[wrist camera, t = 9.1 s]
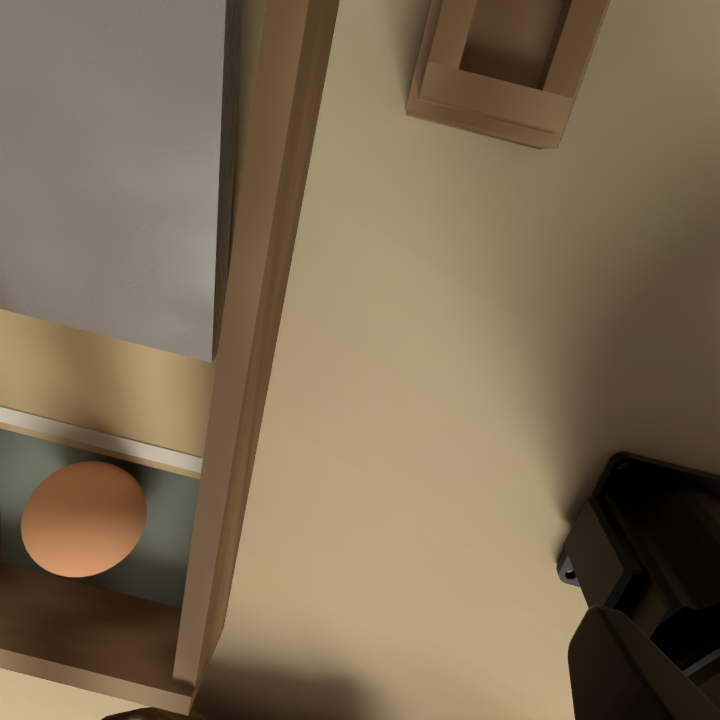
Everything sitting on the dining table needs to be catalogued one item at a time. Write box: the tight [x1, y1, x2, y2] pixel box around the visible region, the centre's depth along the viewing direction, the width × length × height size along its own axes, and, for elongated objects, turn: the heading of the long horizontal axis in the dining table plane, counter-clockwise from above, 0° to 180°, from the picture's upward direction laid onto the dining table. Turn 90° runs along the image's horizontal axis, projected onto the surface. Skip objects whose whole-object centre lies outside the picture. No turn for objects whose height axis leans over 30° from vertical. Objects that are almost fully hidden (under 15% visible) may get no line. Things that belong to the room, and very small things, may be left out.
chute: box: [0, 0, 243, 363], centre depth 15 cm, size 9×13×4 cm, turn 167°
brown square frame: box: [406, 0, 610, 149], centre depth 14 cm, size 4×4×3 cm
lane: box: [0, 0, 339, 716], centre depth 18 cm, size 12×29×6 cm, turn 167°
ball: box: [21, 461, 147, 577], centre depth 21 cm, size 4×4×4 cm
